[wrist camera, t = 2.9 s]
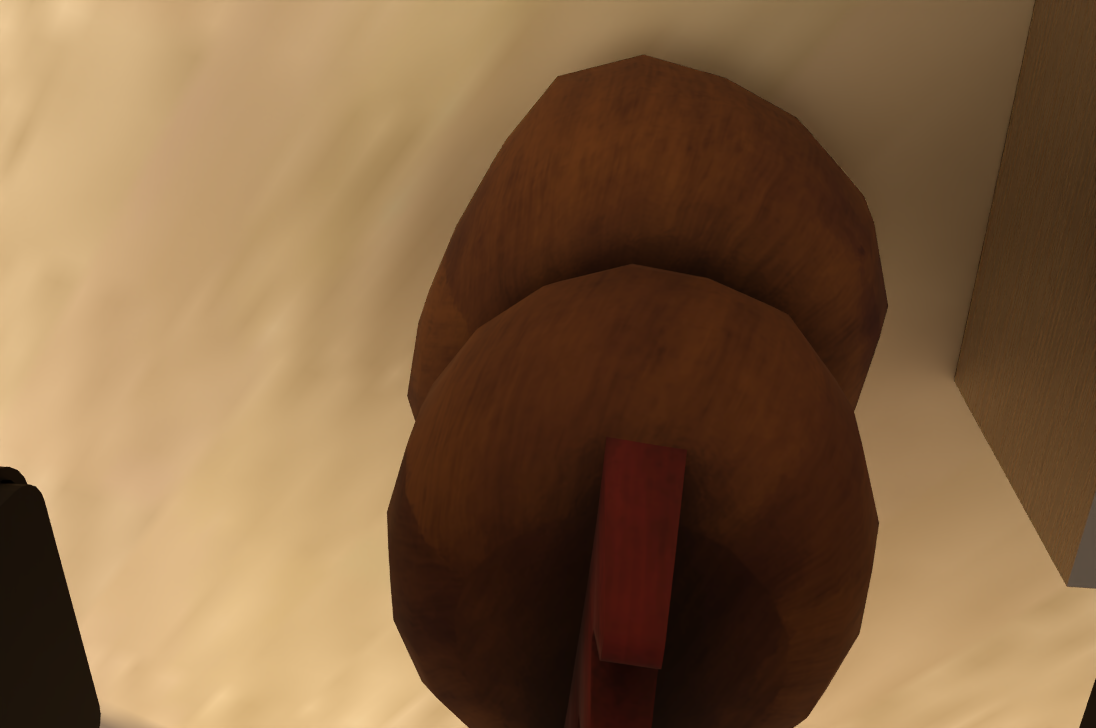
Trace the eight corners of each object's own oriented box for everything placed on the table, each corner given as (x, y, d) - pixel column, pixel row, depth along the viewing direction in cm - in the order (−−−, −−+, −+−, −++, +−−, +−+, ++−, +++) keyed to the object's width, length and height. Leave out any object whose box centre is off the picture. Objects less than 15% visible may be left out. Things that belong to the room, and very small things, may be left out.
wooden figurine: (686, 425, 20) (729, 1555, 7) (428, 294, 19) (-100, 1268, 6) (891, 129, 17) (1708, 1127, 4) (592, -39, 16) (261, 441, 3)
